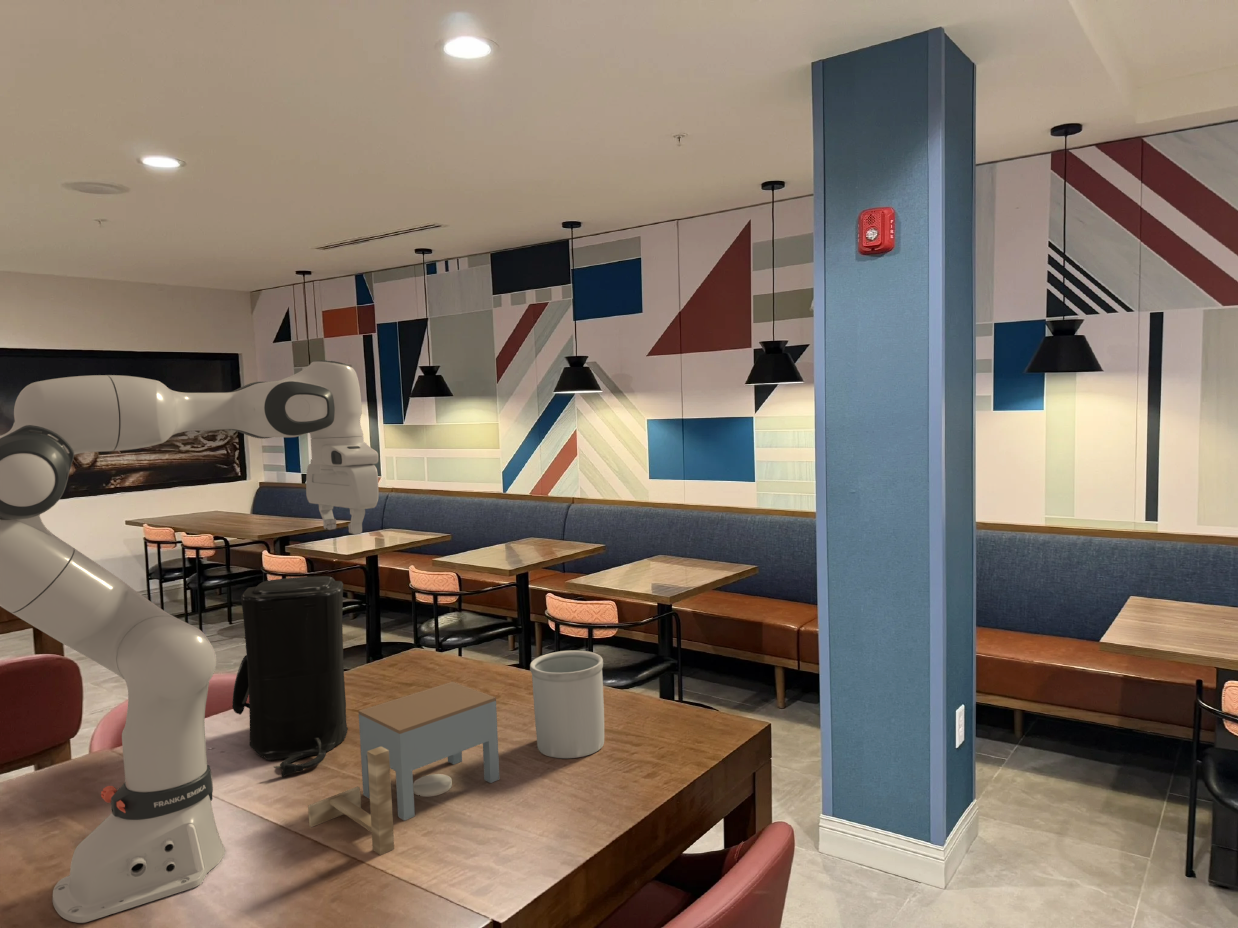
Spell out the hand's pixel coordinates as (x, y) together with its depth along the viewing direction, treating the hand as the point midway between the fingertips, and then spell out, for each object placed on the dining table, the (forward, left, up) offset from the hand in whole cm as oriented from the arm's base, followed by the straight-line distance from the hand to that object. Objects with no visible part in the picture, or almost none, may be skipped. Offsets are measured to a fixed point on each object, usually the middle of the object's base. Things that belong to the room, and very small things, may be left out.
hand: (342, 531), depth 145 cm
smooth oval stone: (+10, -9, -48) cm, 50 cm away
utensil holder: (+39, -14, -48) cm, 64 cm away
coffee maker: (+1, +33, -48) cm, 59 cm away
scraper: (-7, -13, -48) cm, 50 cm away
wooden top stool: (+10, -9, -48) cm, 50 cm away
